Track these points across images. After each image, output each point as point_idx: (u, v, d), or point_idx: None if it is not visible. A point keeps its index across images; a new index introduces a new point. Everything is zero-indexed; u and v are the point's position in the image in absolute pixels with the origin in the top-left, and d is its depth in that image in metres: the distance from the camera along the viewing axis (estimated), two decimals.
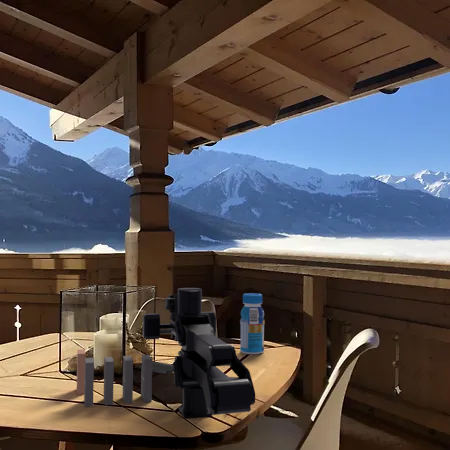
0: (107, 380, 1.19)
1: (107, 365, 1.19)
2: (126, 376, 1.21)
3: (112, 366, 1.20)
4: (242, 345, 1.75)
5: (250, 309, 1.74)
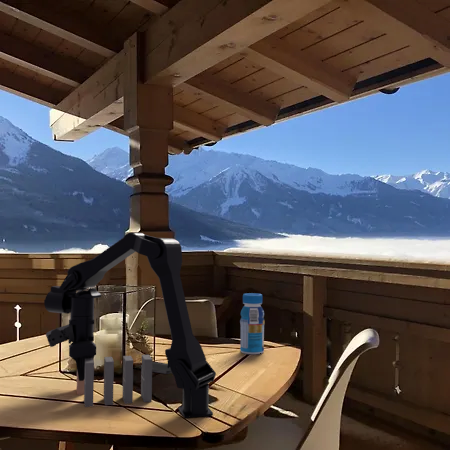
0: (107, 380, 1.19)
1: (107, 365, 1.19)
2: (126, 376, 1.21)
3: (112, 366, 1.20)
4: (242, 345, 1.75)
5: (250, 309, 1.74)
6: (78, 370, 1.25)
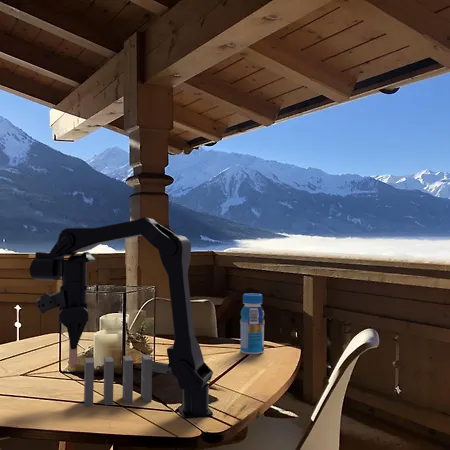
0: (107, 380, 1.19)
1: (107, 365, 1.19)
2: (126, 376, 1.21)
3: (112, 366, 1.20)
4: (242, 345, 1.75)
5: (250, 309, 1.74)
6: (70, 338, 1.18)
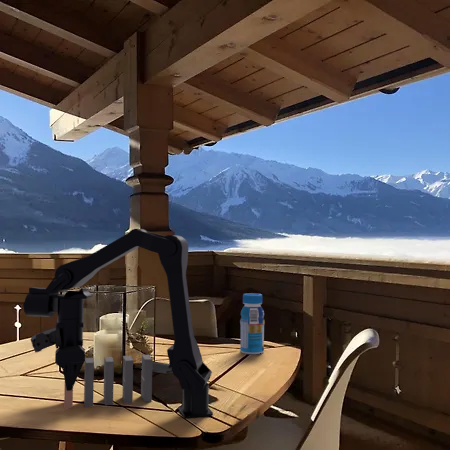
0: (107, 380, 1.19)
1: (107, 365, 1.19)
2: (126, 376, 1.21)
3: (112, 366, 1.20)
4: (242, 345, 1.75)
5: (250, 309, 1.74)
6: (65, 379, 1.14)
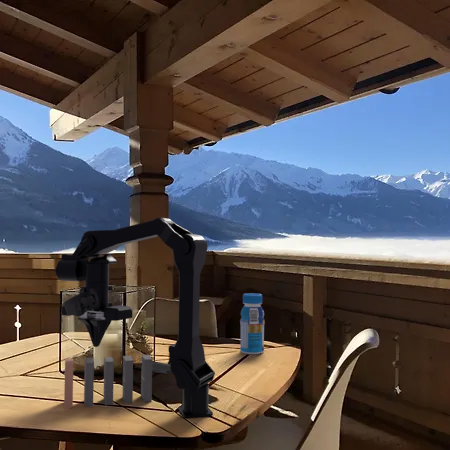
0: (107, 380, 1.19)
1: (107, 365, 1.19)
2: (126, 376, 1.21)
3: (112, 366, 1.20)
4: (242, 345, 1.75)
5: (250, 309, 1.74)
6: (97, 336, 1.24)
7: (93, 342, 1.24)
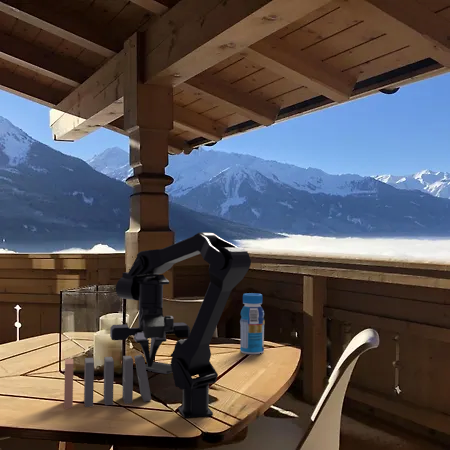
0: (107, 380, 1.19)
1: (107, 365, 1.19)
2: (126, 376, 1.21)
3: (112, 366, 1.20)
4: (242, 345, 1.75)
5: (250, 309, 1.74)
6: None
7: (149, 362, 1.24)
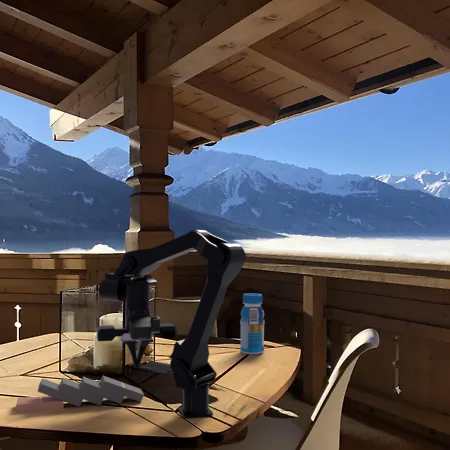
0: (78, 395, 1.17)
1: (63, 390, 1.16)
2: (96, 393, 1.18)
3: (67, 386, 1.17)
4: (242, 345, 1.75)
5: (250, 309, 1.74)
6: None
7: (136, 363, 1.23)
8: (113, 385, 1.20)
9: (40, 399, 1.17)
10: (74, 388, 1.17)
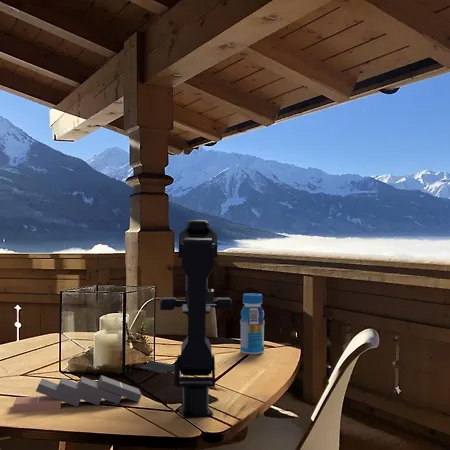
0: (76, 395, 1.17)
1: (61, 390, 1.17)
2: (93, 393, 1.18)
3: (65, 386, 1.17)
4: (242, 345, 1.75)
5: (250, 309, 1.74)
6: None
7: None
8: (110, 385, 1.20)
9: (38, 399, 1.17)
10: (72, 388, 1.17)
